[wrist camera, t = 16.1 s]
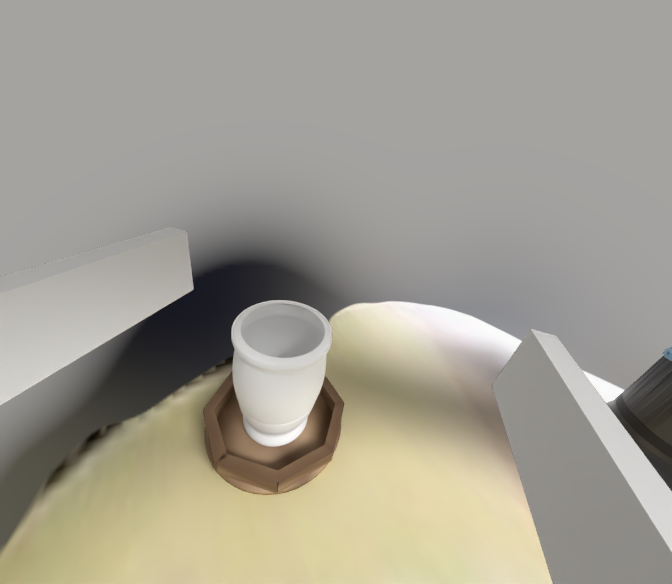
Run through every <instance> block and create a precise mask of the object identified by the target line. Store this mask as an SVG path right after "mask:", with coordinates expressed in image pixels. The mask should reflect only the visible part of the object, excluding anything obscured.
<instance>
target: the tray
mask: <svg viewBox="0 0 672 584" xmlns="http://www.w3.org/2000/svg"><path fill="white" fill-rule="evenodd" d="M343 407H344V402H343V400H342V399H341V397H340V396H339V395H338V393H337V392H336V390H335V389H334V387H333V386H332V385H331V383H330V382H329V380H328V379H327V378H326V376H325V377H324V381H323V385H322V388H321V390H320V393H319V395H318V397H317V399H316V401H315V403H314V406H313V408H312V410H311V412H310V414H309V415H308V419H307V423H306V426H305V428H304V430H303V431H302V433H301V434H300V435H299V436H298V437H297V438H296V439H295V440H293V441H292V442H290V443H288V444H285V445H282V446H276V447H270V446H264V445H261V444H259V443H257V442H255V441H254V440H253V439H252V438H251V437H250V436H249V435H248V434H247V432H246V430H245V428H244V424H243V414H242V412H241V409H240V406H239V403H238V399H237V396H236V393H235V389H234V384H233V375H232V372H231V374H230V375H229V376H228V378H227V379H226V380H225V382H224V383H223V384H222V386H221V387H220V388H219V390H218V391H217V392H216V394H215V395H214V396H213V398H212V399H211V400H210V402H209V403H208V404H207V406H206V407H205V408H204V411H203V414H204V421H205V425H206V427H205V441H206V448H207V452H208V456H209V459H210V461H211V463H212V465H213V467H214V468H215V470H216V472H218V474H219V475H220V476H221V477H222V478H223V479H224V480H226V481H227V482H228V483H230V484H231V485H233V486H234V487H236V488H238V489H241V490H243V491H246V492H249V493H253V494H261V495H272V494H280V493H285V492H289V491H291V490H294V489H297V488H299V487H301V486H303V485H305V484H306V483H308V482H309V481H311V480H312V479H313V478H315V477H316V476H317V475H318V474H319V473H320V472H321V471H322V470H323V469H324V468H325V466H326V465H327V464H328V463H329V462H330V461H331V460H332V456H333V454H334V452H335V449H336V447H337V444H338V440H339V437H340V431H341V416H342V412H343Z"/></svg>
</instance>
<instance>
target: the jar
mask: <svg viewBox="0 0 672 584" xmlns="http://www.w3.org/2000/svg"><path fill="white" fill-rule="evenodd" d="M231 333H232V334H231V335H232V336H231V338H232V343H233V346H234V349H235V350H234V356H233V366H232V375H233V384H234V389H235V393H236V396H237V399H238V403H239V406H240V409H241V412H242V414H243V424H244V428H245V430H246V432H247V434H248V435H249V436H250V437H251V438H252V439H253V440H254V441H255V442H257V443H259V444H261V445H264V446H270V447H276V446H282V445H285V444H288V443H290V442H292V441H293V440H295V439H296V438H297V437H298V436H299V435H300V434H301V433H302V431H303V430H304V428H305V426H306V423H307V419H308V415H309V414H310V412H311V410H312V408H313V406H314V403H315V401H316V399H317V397H318V395H319V393H320V390H321V388H322V385H323V381H324V377H325V371H326V354H327V352H328V350H329V348H330V346H331V342H332V328H331V326H330V323H329V322H328V320H327V319H326V318H325V317H324V316H323V315H322V314H321V313H320V312H319V311H317V310H316V309H314V308H312V307H310V306H307V305H305V304H302V303H299V302H294V301H287V300H273V301H266V302H262V303H258V304H256V305H253V306H251V307H249V308H247V309H245V310H244V311H243V312H241V313H240V314H239V315H238V316H237V318H236V319H235V321H234V323H233V325H232V331H231Z"/></svg>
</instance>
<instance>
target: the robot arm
mask: <svg viewBox="0 0 672 584" xmlns="http://www.w3.org/2000/svg"><path fill="white" fill-rule="evenodd" d="M193 289H194V288H193V280H192V272H191V264H190V255H189V247H188V238H187V231H184V230H180V229H177V228H173V227H168V228H165V229H161V230H158V231H155V232H151V233H148V234H144V235H141V236H137V237H134V238H130V239H127V240H124V241H120V242H117V243H113V244H110V245H107V246H103V247H100V248H97V249H93V250H90V251H86V252H83V253H79V254H76V255H73V256H69V257H66V258H62V259H59V260H55V261H52V262H49V263H45V264H42V265H38V266H35V267H32V268H28V269H25V270H21V271H18V272H15V273H11V274H8V275H4V276H1V277H0V405H2V404H3V403H5V402H7V401H8V400H10V399H12V398H13V397H15V396H16V395H18V394H20V393H22V392H23V391H25V390H27V389H28V388H30V387H32V386H33V385H35V384H37V383H38V382H40V381H42V380H43V379H45V378H47V377H48V376H50V375H52V374H53V373H55V372H57V371H58V370H60V369H62V368H63V367H65V366H67V365H68V364H70V363H72V362H73V361H75V360H77V359H78V358H80V357H82V356H83V355H85V354H87V353H88V352H90V351H92V350H93V349H95V348H97V347H98V346H100V345H101V344H103V343H105V342H107V341H108V340H110V339H112V338H113V337H115V336H117V335H118V334H120V333H122V332H123V331H125V330H127V329H128V328H130V327H132V326H133V325H135V324H137V323H138V322H140V321H142V320H143V319H145V318H147V317H148V316H150V315H152V314H153V313H155V312H157V311H158V310H160V309H161V308H163V307H165V306H167V305H168V304H170V303H172V302H173V301H175V300H177V299H178V298H180V297H182V296H183V295H185V294H187V293H188V292H190V291H192V290H193ZM663 355H664V356H663V357H662V358H661V359H659V360H658V361H657V362H656V363H655V364H654V365H653V366H652V367H650V368H649V369H648V370H647V371H646V372H645V373H644V374H643V375H642V376H640V377H639V378H638V379H637V380H636V381H635V382H634V383H633V384H632V385H630V386H629V387H628V388H627V389H626V390H625V391H624V392H623V393H622V394H621V395H619V396H618V397H617V398H616V399H615V400H613V401H611V402H608V403H605V401H604V400H603V399H602V397H601V396H600V395H599V393H598V392H597V390H596V389H595V388H594V386H593V385H592V384H591V382H590V381H589V380H588V378H587V377H586V376H585V374H584V373H583V372H582V370H581V369H580V368H579V367H578V365H577V364H576V362H575V361H574V360H573V358H572V357H571V356H570V354H569V353H568V352H567V350H566V349H565V348H564V346H563V345H562V343H561V342H560V341H559V339H558V338H557V337H556V336H554V335H551V334H547V333H544V332H540V331H537V330H533V329H530V331H529V332H528V333H527V335H526V337H525V338H524V339H523V341H522V342H521V344H520V345H519V347H518V348H517V349H516V351H515V352H514V354H513V355H512V357H511V358H510V360H509V361H508V362H507V364H506V365H505V367H504V368H503V370H502V371H501V373H500V374H499V375H498V377H497V378H496V380H495V381H494V383H493V384H492V388H493V391H494V394H495V398H496V401H497V404H498V407H499V411H500V414H501V417H502V420H503V424H504V427H505V430H506V433H507V437H508V440H509V443H510V446H511V450H512V453H513V456H514V459H515V463H516V466H517V469H518V472H519V475H520V479H521V482H522V485H523V488H524V492H525V495H526V498H527V501H528V505H529V508H530V511H531V514H532V518H533V521H534V524H535V527H536V531H537V534H538V537H539V540H540V543H541V547H542V550H543V553H544V556H545V560H546V563H547V566H548V569H549V573H550V576H551V579H552V582H553V584H672V347H671V348H668V349H666V350H665V351H664V352H663Z"/></svg>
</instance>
